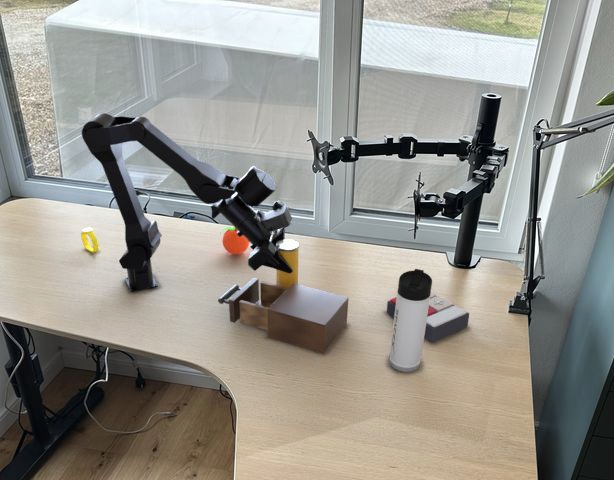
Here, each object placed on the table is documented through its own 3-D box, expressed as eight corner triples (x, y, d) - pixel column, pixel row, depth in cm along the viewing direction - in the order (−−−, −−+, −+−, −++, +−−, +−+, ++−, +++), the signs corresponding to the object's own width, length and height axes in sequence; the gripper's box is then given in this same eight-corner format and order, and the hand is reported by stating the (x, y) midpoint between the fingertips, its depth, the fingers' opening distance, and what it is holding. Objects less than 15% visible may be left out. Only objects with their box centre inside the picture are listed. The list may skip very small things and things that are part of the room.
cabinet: (267, 337, 140) (267, 309, 136) (293, 310, 149) (293, 283, 145) (323, 354, 136) (325, 325, 132) (346, 325, 145) (348, 297, 141)
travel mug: (422, 357, 136) (436, 271, 124) (416, 375, 131) (429, 288, 119) (393, 350, 137) (403, 265, 126) (385, 368, 132) (395, 281, 121)
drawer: (213, 317, 145) (212, 295, 142) (239, 294, 153) (238, 273, 150) (279, 336, 139) (279, 314, 136) (302, 311, 148) (302, 290, 144)
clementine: (215, 256, 170) (213, 231, 166) (225, 244, 175) (224, 220, 171) (243, 261, 168) (243, 235, 164) (253, 249, 174) (252, 224, 169)
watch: (102, 252, 170) (98, 231, 167) (93, 256, 169) (89, 235, 165) (90, 245, 174) (86, 224, 170) (80, 248, 172) (76, 227, 168)
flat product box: (422, 284, 153) (470, 310, 143) (420, 300, 155) (468, 327, 145) (386, 298, 147) (434, 326, 137) (385, 314, 150) (432, 343, 140)
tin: (271, 284, 153) (271, 243, 147) (287, 277, 156) (288, 237, 150) (286, 293, 150) (286, 251, 144) (302, 285, 153) (303, 244, 147)
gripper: (262, 213, 133) (314, 265, 139) (276, 179, 148) (322, 228, 154) (225, 245, 138) (277, 294, 144) (243, 209, 154) (289, 255, 159)
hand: (293, 266), depth 150 cm, fingers closed on tin, 5 cm apart
